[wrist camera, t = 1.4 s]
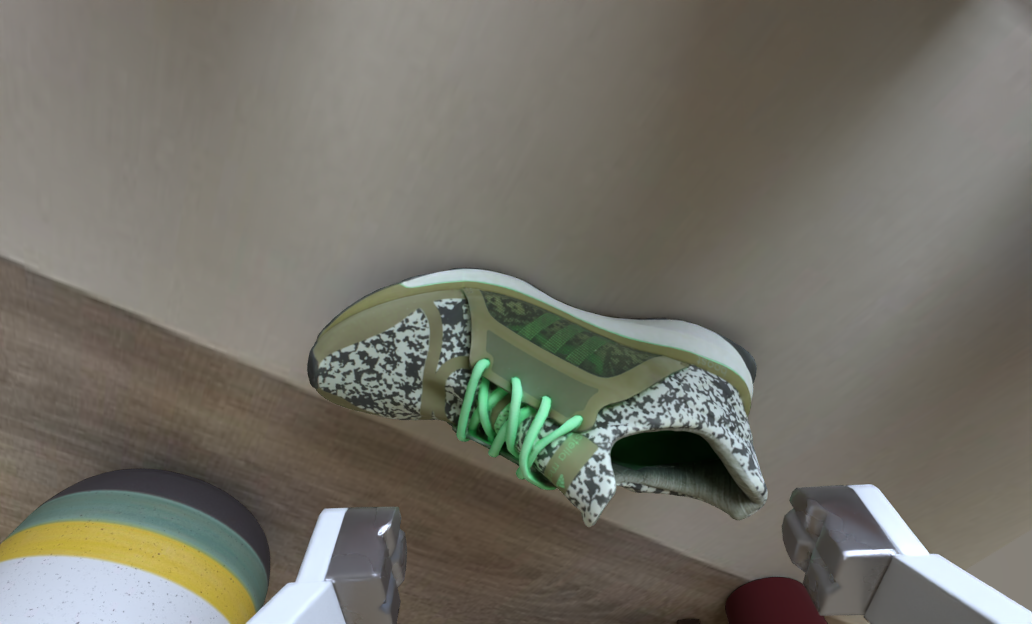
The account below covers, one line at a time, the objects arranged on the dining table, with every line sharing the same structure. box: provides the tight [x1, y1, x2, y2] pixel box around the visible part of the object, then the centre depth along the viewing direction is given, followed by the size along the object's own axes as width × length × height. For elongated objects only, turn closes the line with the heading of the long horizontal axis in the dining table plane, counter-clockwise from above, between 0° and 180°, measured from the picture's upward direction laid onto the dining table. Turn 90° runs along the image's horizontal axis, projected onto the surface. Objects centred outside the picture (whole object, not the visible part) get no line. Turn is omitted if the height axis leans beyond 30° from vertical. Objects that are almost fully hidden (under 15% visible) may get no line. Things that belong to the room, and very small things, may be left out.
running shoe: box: [307, 268, 768, 527], centre depth 29 cm, size 10×27×12 cm, turn 81°
